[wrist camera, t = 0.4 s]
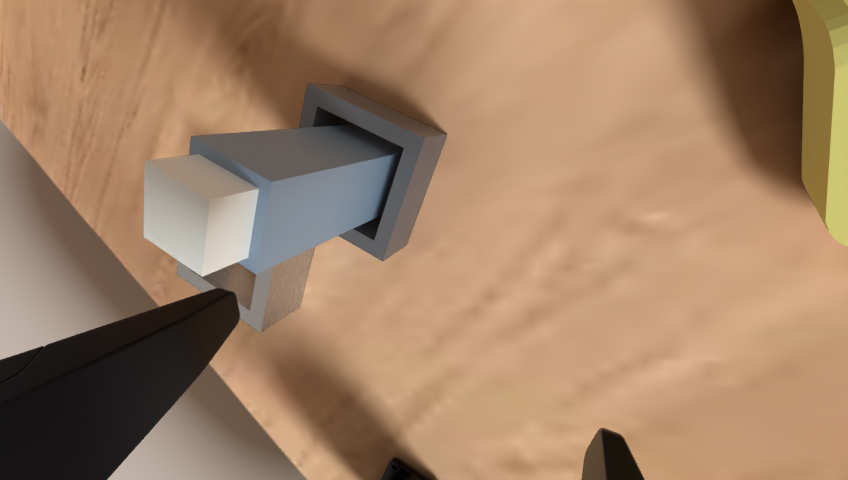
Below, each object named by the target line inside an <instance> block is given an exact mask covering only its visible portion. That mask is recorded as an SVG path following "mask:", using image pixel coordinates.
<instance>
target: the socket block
mask: <svg viewBox="0 0 848 480" xmlns="http://www.w3.org/2000/svg"><path fill="white" fill-rule="evenodd" d="M314 248H315V247H313V248H311V249H309V250H306V251H304V252H302V253H300V254H298V255H296V256H294V257H291V258H289V259H287V260H285V261H283V262H281V263H279V264H277V265H274V266H272V267H270V268H268V269H266V270H264V271H262V272H260V273H257V274H255V273H253V272H252V271H250V270H249V269H247V268H245V267H244V266H242V265H241V264H239V263H238V262H237V263H234V264H232V265H229V266H227V267H225V268H222V269H220V270H217V271H215V272H212V273H210V274H208V275H205V276H203V277H201V276H200V275H198V274H197V273H196V272H194V271H193V270H191V269H190V268H188V267H187V266H185V265H184V264H182V263H181V262H180V261H178V263H177V275H178V276H180V277H181V278H183V279H184V280H186V281H187V282H188V283H190V284H191V285H193V286H194V287H196V288H197V289H198V290H200V291H201V292H206V291H209V290H212V289H215V288H219V287H221V288H225V289H228V290H231V291H233V292H235V294H236V296H237V301H238V306H239V311H240V319H241V320H243V321H244V322H246V323H247V324H248V325H250V326H251V327H253V328H254V329H256V330H257V331H259V332H260V333H261V332H263V331H264V330H266V329H267V328H269V327H270V326H272V325H273V324H275V323H277V322H278V321H280V320H281V319H283V318H284V317H286V316H288V315H289V314H291V313H292V312H294V311H295V310H297V309H298V308H300V305H301V301H302V297H303V293H304V288H305V284H306V280H307V276H308V272H309V268H310V264H311V260H312V256H313V252H314Z"/></svg>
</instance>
